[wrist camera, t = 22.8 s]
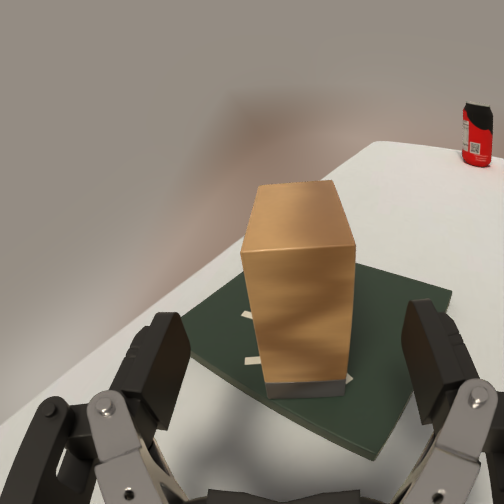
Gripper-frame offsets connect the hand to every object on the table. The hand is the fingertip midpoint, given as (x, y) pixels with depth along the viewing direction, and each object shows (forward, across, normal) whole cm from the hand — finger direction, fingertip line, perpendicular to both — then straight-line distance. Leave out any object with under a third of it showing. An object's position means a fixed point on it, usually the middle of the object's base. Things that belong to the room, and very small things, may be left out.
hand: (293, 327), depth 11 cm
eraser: (+5, 0, +7) cm, 8 cm away
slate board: (+8, -1, +8) cm, 11 cm away
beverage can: (+47, -37, +8) cm, 60 cm away
